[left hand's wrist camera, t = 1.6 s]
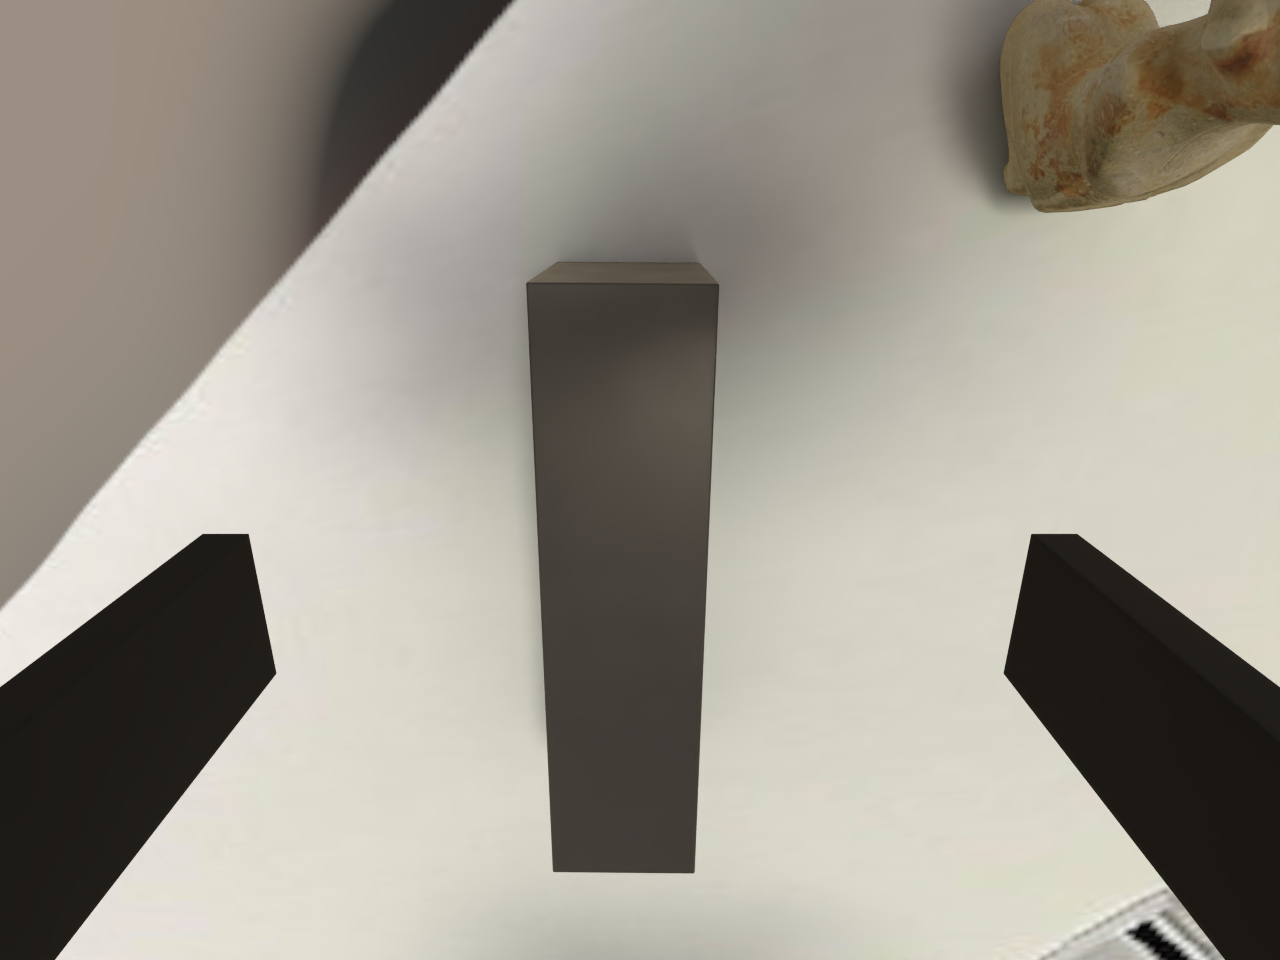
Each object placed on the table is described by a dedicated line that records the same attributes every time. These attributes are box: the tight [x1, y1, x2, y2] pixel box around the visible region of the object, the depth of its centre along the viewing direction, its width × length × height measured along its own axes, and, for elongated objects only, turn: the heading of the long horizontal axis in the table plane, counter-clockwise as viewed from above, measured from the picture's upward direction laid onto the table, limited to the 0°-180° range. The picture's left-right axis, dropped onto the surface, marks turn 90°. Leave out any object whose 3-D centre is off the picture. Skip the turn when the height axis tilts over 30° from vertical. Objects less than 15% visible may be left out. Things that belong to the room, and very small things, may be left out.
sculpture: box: [1000, 0, 1280, 213], centre depth 22 cm, size 6×7×15 cm
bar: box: [526, 262, 719, 873], centre depth 31 cm, size 24×6×9 cm, turn 0°
